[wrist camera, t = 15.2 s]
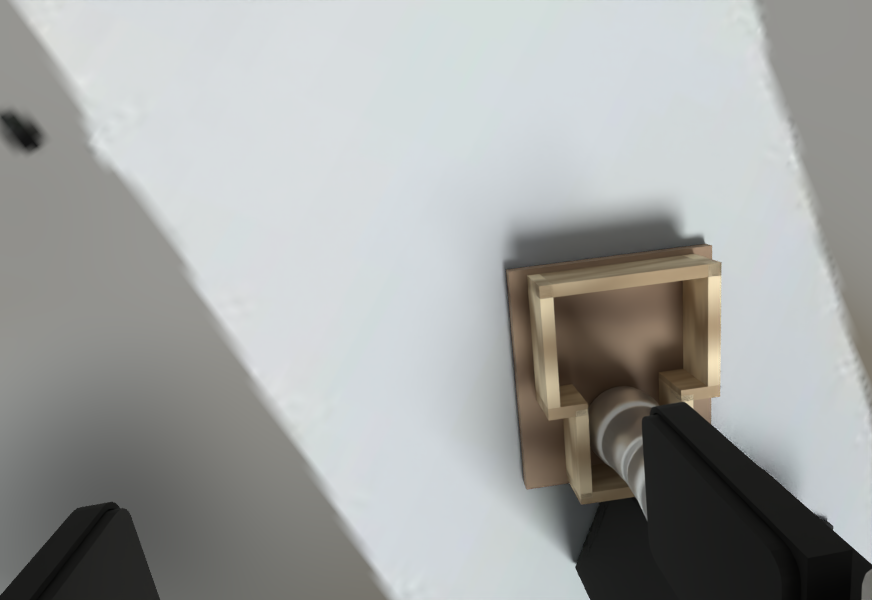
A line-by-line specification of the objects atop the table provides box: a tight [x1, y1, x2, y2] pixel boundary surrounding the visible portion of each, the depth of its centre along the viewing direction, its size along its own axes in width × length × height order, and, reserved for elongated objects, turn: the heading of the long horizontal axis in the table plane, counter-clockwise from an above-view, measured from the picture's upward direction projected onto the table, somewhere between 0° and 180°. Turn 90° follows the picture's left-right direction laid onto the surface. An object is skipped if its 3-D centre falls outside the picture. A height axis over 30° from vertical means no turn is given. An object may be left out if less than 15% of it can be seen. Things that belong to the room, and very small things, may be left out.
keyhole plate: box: [506, 244, 721, 505], centre depth 48 cm, size 20×17×5 cm
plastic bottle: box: [588, 386, 659, 519], centre depth 41 cm, size 6×7×20 cm
